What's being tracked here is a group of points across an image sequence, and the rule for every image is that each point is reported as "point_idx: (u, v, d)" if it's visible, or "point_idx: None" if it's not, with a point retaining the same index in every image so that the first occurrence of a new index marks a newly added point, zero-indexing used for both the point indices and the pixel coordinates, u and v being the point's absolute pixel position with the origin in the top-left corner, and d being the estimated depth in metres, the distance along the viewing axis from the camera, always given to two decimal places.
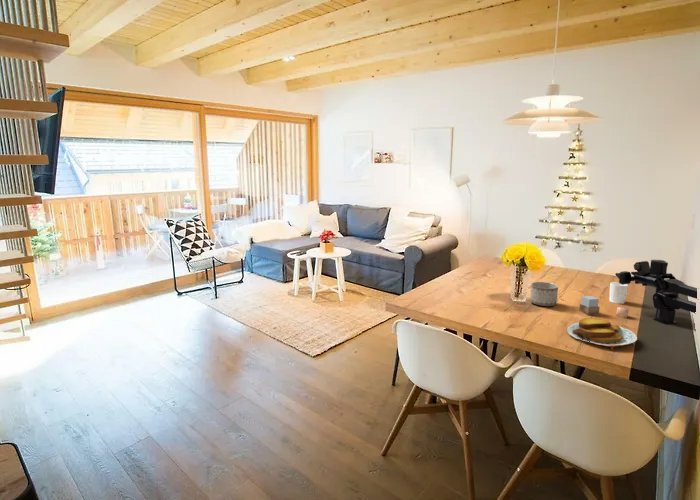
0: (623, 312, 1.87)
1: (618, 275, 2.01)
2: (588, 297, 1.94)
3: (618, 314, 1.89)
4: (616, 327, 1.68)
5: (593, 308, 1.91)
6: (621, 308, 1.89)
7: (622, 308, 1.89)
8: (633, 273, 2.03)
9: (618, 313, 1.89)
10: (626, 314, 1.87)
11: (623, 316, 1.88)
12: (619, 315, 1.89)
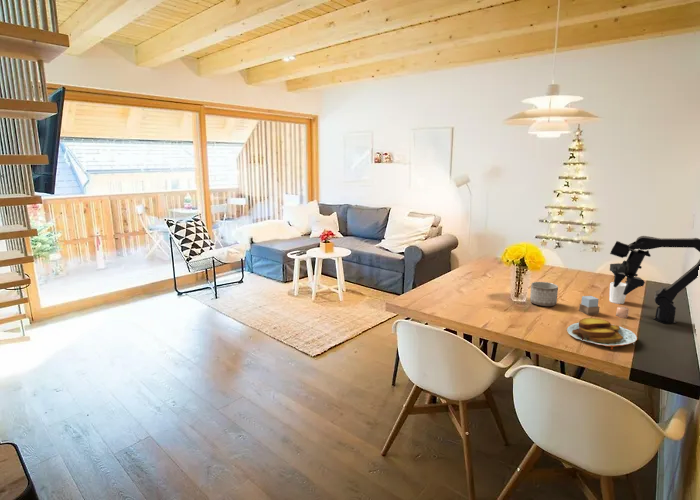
0: (623, 312, 1.87)
1: (628, 290, 1.85)
2: (588, 297, 1.94)
3: (618, 314, 1.89)
4: (616, 327, 1.68)
5: (593, 308, 1.91)
6: (621, 308, 1.89)
7: (622, 308, 1.89)
8: (616, 284, 1.95)
9: (618, 313, 1.89)
10: (626, 314, 1.87)
11: (623, 316, 1.88)
12: (619, 315, 1.89)
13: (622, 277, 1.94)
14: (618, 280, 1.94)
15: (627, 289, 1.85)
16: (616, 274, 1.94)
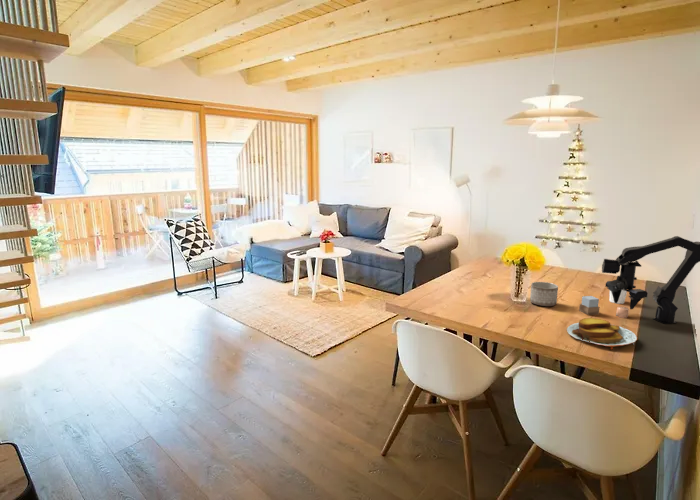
0: (623, 312, 1.87)
1: (634, 304, 1.83)
2: (588, 297, 1.94)
3: (618, 314, 1.89)
4: (616, 327, 1.68)
5: (593, 308, 1.91)
6: (621, 308, 1.89)
7: (622, 308, 1.89)
8: (616, 300, 1.93)
9: (618, 313, 1.89)
10: (626, 314, 1.87)
11: (623, 316, 1.88)
12: (619, 315, 1.89)
13: (619, 291, 1.93)
14: (617, 295, 1.93)
15: (633, 303, 1.82)
16: (613, 290, 1.92)
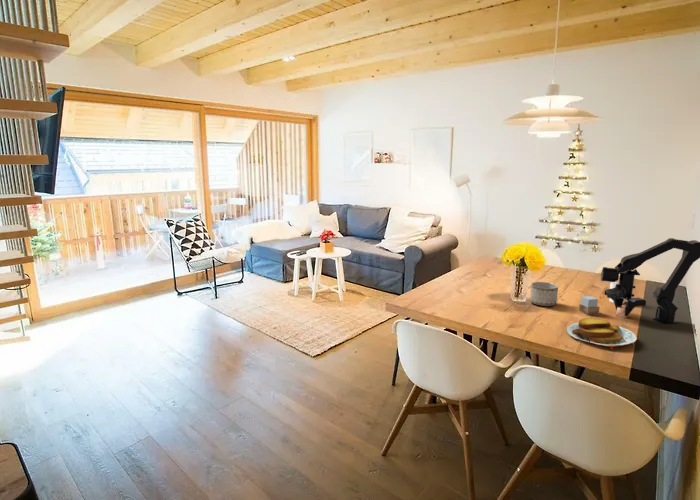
0: (623, 312, 1.87)
1: (628, 311, 1.86)
2: (587, 297, 1.94)
3: (618, 314, 1.89)
4: (616, 327, 1.68)
5: (593, 308, 1.91)
6: (621, 308, 1.89)
7: (622, 308, 1.89)
8: None
9: (618, 313, 1.89)
10: None
11: (623, 316, 1.88)
12: (619, 315, 1.89)
13: (621, 301, 1.91)
14: (619, 305, 1.91)
15: (628, 310, 1.85)
16: (615, 300, 1.91)
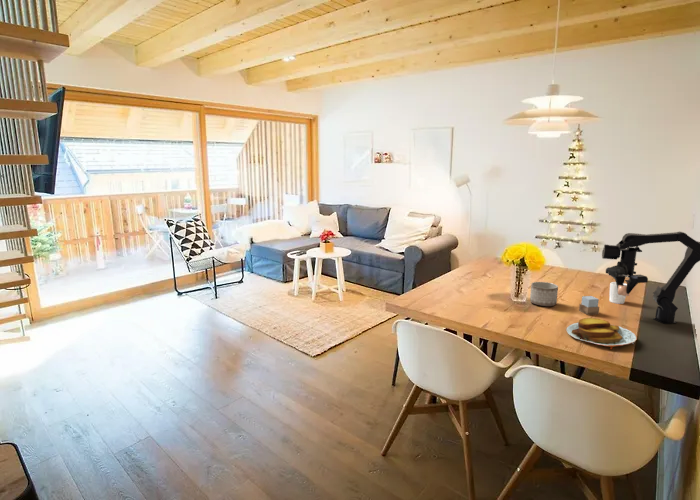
0: (624, 290, 1.85)
1: (630, 288, 1.84)
2: (588, 297, 1.94)
3: (619, 292, 1.87)
4: (615, 327, 1.68)
5: (593, 308, 1.91)
6: (622, 286, 1.87)
7: (623, 286, 1.87)
8: None
9: (619, 291, 1.87)
10: None
11: (624, 294, 1.86)
12: (620, 293, 1.86)
13: (623, 279, 1.89)
14: (620, 283, 1.89)
15: (629, 287, 1.83)
16: (617, 278, 1.89)
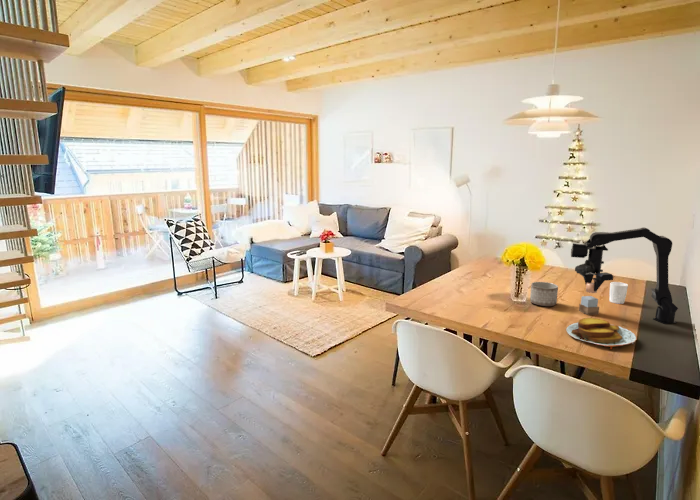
0: (591, 287, 1.90)
1: (597, 286, 1.89)
2: (587, 297, 1.94)
3: (587, 289, 1.92)
4: (615, 327, 1.68)
5: (593, 308, 1.91)
6: (590, 283, 1.92)
7: (591, 283, 1.92)
8: None
9: (587, 288, 1.92)
10: None
11: (592, 291, 1.91)
12: (588, 290, 1.92)
13: (591, 277, 1.94)
14: (589, 281, 1.94)
15: (596, 285, 1.88)
16: (585, 275, 1.94)
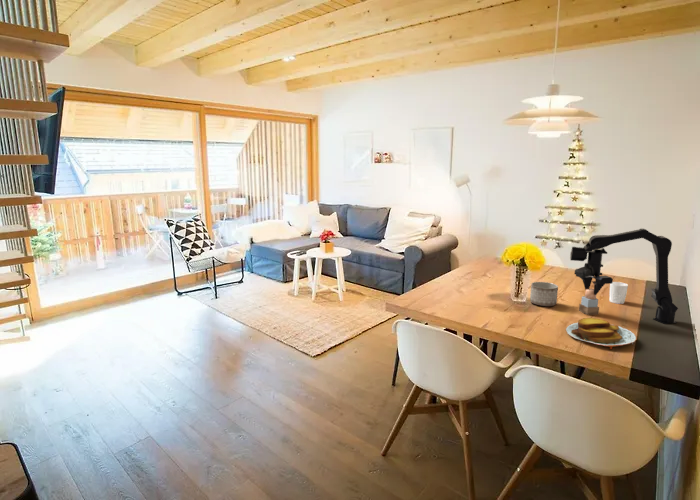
0: (591, 293, 1.91)
1: (597, 289, 1.89)
2: None
3: (586, 296, 1.93)
4: (615, 327, 1.68)
5: (593, 308, 1.91)
6: (589, 290, 1.93)
7: (590, 290, 1.93)
8: (587, 288, 1.95)
9: (586, 295, 1.93)
10: (594, 295, 1.91)
11: (591, 297, 1.91)
12: (587, 296, 1.92)
13: (590, 280, 1.95)
14: (588, 284, 1.95)
15: (596, 288, 1.88)
16: (584, 278, 1.95)
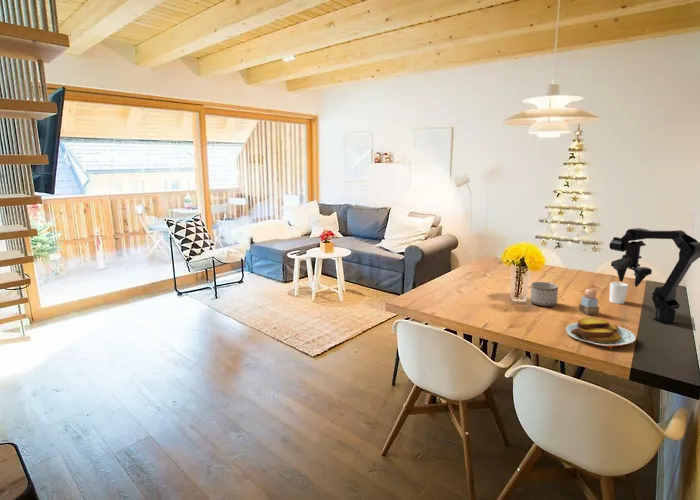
0: (590, 293, 1.91)
1: (638, 281, 1.91)
2: None
3: (586, 295, 1.93)
4: (615, 327, 1.68)
5: (593, 308, 1.91)
6: (589, 290, 1.93)
7: (590, 290, 1.93)
8: (621, 278, 2.01)
9: (586, 294, 1.93)
10: (594, 295, 1.91)
11: (591, 297, 1.91)
12: (587, 296, 1.92)
13: (624, 270, 2.01)
14: (622, 274, 2.01)
15: (637, 280, 1.91)
16: (619, 269, 2.01)
